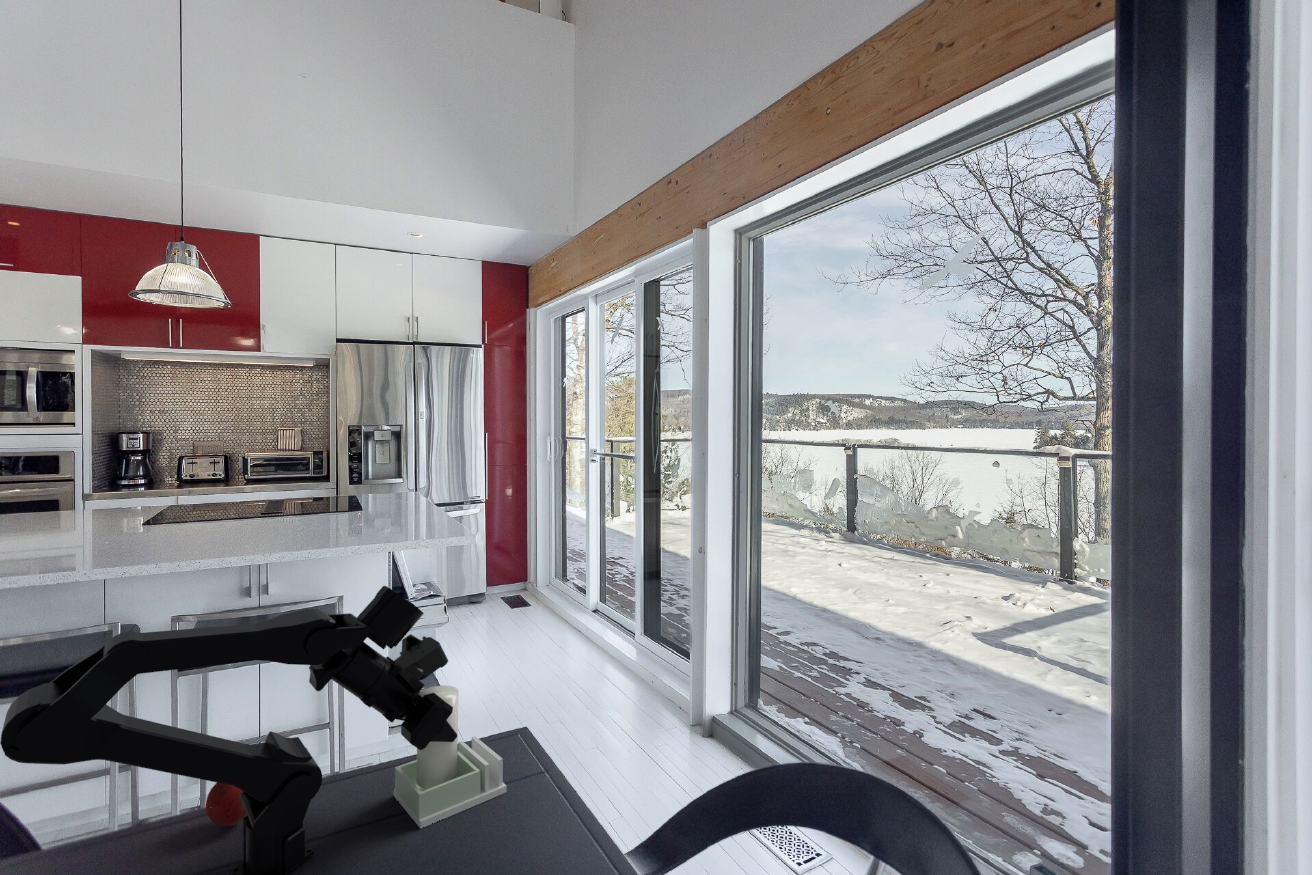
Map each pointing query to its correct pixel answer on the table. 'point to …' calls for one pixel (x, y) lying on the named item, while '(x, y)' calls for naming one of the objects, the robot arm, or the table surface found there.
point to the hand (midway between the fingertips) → (446, 730)
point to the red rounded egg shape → (225, 805)
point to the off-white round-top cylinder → (439, 746)
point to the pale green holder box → (452, 785)
